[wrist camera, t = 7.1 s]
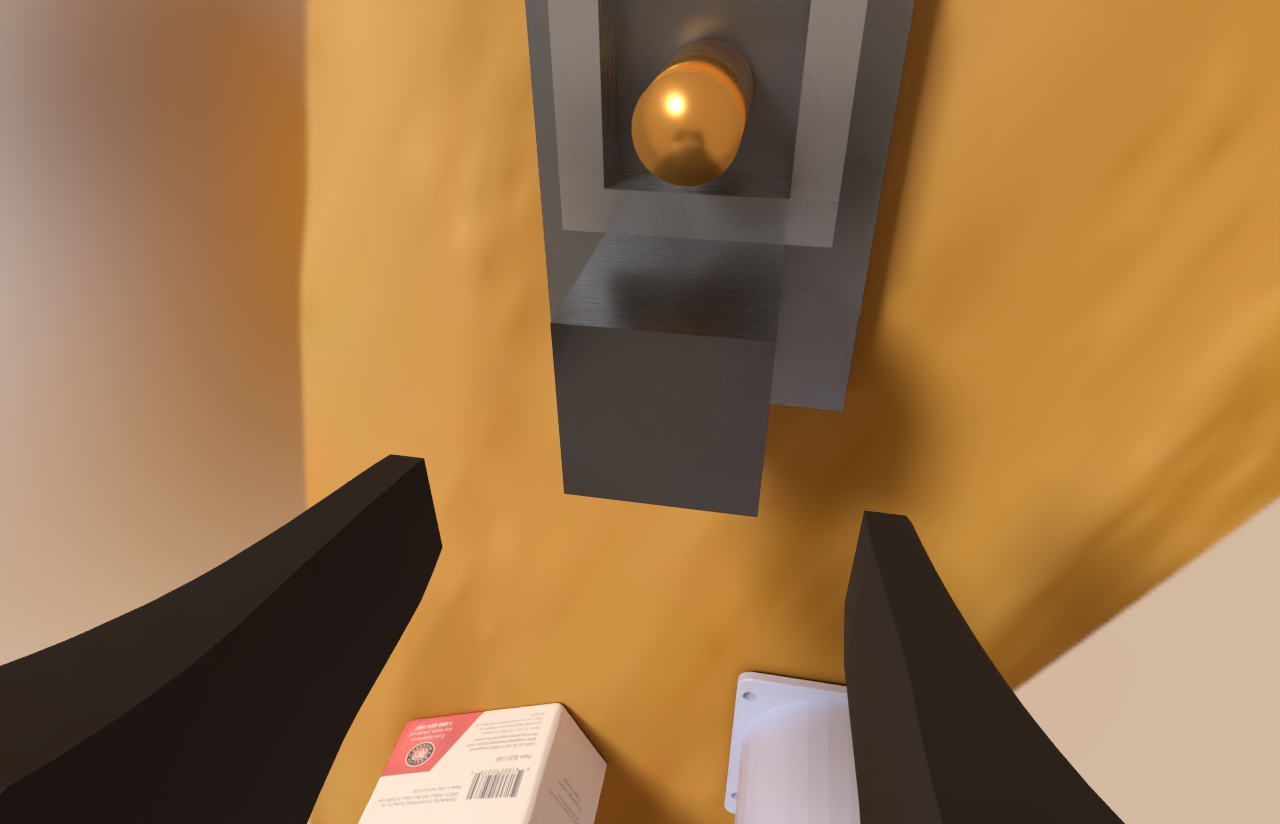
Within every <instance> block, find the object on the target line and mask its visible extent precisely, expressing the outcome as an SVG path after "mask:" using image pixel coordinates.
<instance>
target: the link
mask: <svg viewBox="0 0 1280 824" xmlns="http://www.w3.org/2000/svg"><path fill="white" fill-rule="evenodd" d="M867 2H868V0H811V1H810V10H809V20H808V29H807V38H806V48H805V57H804V66H803V76H802V85H801V94H800V104H799V113H798V122H797V132H796V141H795V150H794V160H793V169H792V176H780V175H761V174H741V173H722V174H720V175H719V176H718V177H716V178H715V179H713V180H711V181H709V182H707V183H704V184H701V185H696V186H677V185H673V184H670V183H667V182H665V181H663V180H661V179H659V178H658V177H656V176H655V175H654V174H652V173H651V172H650V171H649V170H648V169H644V168H625V167H619V123H618V75H617V28H616V0H548V14H549V29H550V45H551V60H552V75H553V90H554V105H555V120H556V136H557V151H558V166H559V181H560V196H561V211H562V226H563V230H571V231H586V232H601V233H605V234H604V236H603V238H602V239H601V241H600V243H599V244H598V246H597V248H596V249H595V251H594V252H593V254H592V256H591V257H590V259H589V261H588V262H587V264H586V266H585V267H584V269H583V270H582V272H581V274H580V275H579V277H578V279H577V280H576V282H575V283H574V285H573V287H572V288H571V290H570V292H569V293H568V295H567V297H566V298H565V300H564V301H563V303H562V305H561V306H560V308H559V310H558V311H557V313H556V315H555V316H554V318H553V319H552V321H551V323H550V324H551V336H552V348H553V360H554V373H555V385H556V397H557V410H558V422H559V434H560V446H561V459H562V471H563V483H564V494H572V495H580V496H588V497H597V498H605V499H613V500H621V501H629V502H637V503H646V504H654V505H662V506H670V507H678V508H687V509H695V510H703V511H711V512H719V513H727V514H736V515H744V516H752V517H757V515H758V506H759V497H760V488H761V479H762V470H763V460H764V451H765V442H766V433H767V424H768V415H769V406H770V396H771V387H772V378H773V369H774V360H775V351H776V341H777V330H778V318H779V307H780V295H781V284H782V272H783V261H784V249H785V245H799V246H814V247H829V248H832V244H833V237H834V230H835V223H836V216H837V209H838V202H839V195H840V188H841V182H842V175H843V168H844V161H845V154H846V147H847V140H848V133H849V126H850V119H851V113H852V106H853V99H854V92H855V85H856V78H857V71H858V64H859V57H860V50H861V44H862V37H863V30H864V23H865V16H866V9H867Z"/></svg>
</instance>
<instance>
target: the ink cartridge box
mask: <svg viewBox="0 0 1280 824" xmlns="http://www.w3.org/2000/svg"><path fill="white" fill-rule="evenodd" d="M606 766H607V764H606V762H605V761H604V760H603V758H602V757H601V756H600V754H599V753H598V752H597V750H596V749H595V748H594V746H593V745H592V744H591V742H590V741H589V740H588V739H587V737H586V736H585V735H584V733H583V732H582V731H581V729H580V728H579V727H578V725H577V724H576V723H575V721H574V720H573V719H572V717H571V716H570V715H569V713H568V712H567V710H566V709H565V708H564V706H563V705H561V704H560V703H551V704H543V705H535V706H526V707H517V708H508V709H500V710H491V711H483V712H474V713H467V714H458V715H449V716H442V717H432V718H424V719H417V720H413V721H409V722H407V724H406V726H405V728H404V730H403V732H402V734H401V736H400V738H399V740H398V742H397V744H396V746H395V748H394V750H393V753H392V755H391V757H390V759H389V761H388V763H387V765H386V767H385V769H384V771H383V773H382V776H381V778H380V779H379V781H378V784H377V786H376V788H375V790H374V792H373V794H372V796H371V798H370V800H369V802H368V804H367V806H366V808H365V811H364V813H363V815H362V817H361V819H360V821H359V823H358V824H594V821H595V816H596V811H597V807H598V803H599V798H600V793H601V789H602V785H603V781H604V776H605V771H606Z"/></svg>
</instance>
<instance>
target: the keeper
mask: <svg viewBox="0 0 1280 824" xmlns="http://www.w3.org/2000/svg"><path fill="white" fill-rule="evenodd" d="M810 1H811V0H616V28H617V75H618V123H619V167H625V168H644V169H648V170H649V171H650V172H651V173H652V174H654V175H655V176H656V177H658V178H659V179H661V180H663V181H665V182H667V183H670V184H673V185H677V186H696V185H701V184H704V183H707V182H709V181H711V180H713V179H715V178H716V177H718V176H719V175H720V174H722V173H741V174H761V175H780V176H792V169H793V160H794V150H795V141H796V132H797V122H798V113H799V104H800V94H801V85H802V76H803V66H804V57H805V48H806V38H807V29H808V20H809V10H810ZM914 3H915V0H868V2H867V9H866V16H865V23H864V30H863V37H862V44H861V50H860V57H859V64H858V71H857V78H856V85H855V92H854V99H853V106H852V113H851V119H850V126H849V133H848V140H847V147H846V154H845V161H844V168H843V175H842V182H841V188H840V195H839V202H838V209H837V216H836V223H835V230H834V237H833V244H832V248H829V247H814V246H799V245H785V249H784V261H783V272H782V284H781V295H780V307H779V318H778V330H777V341H776V351H775V360H774V369H773V378H772V387H771V396H770V404H774V405H784V406H794V407H804V408H814V409H824V410H835V411H843V407H844V401H845V395H846V390H847V384H848V378H849V373H850V367H851V361H852V356H853V350H854V344H855V339H856V333H857V327H858V322H859V316H860V310H861V305H862V299H863V293H864V288H865V282H866V276H867V270H868V265H869V259H870V253H871V248H872V242H873V236H874V231H875V225H876V219H877V214H878V208H879V202H880V197H881V191H882V185H883V180H884V174H885V168H886V162H887V157H888V151H889V145H890V140H891V134H892V128H893V123H894V117H895V111H896V106H897V100H898V94H899V89H900V83H901V77H902V72H903V66H904V60H905V55H906V49H907V43H908V37H909V32H910V26H911V20H912V15H913V9H914ZM525 5H526V18H527V30H528V42H529V55H530V67H531V79H532V92H533V104H534V116H535V129H536V141H537V154H538V166H539V178H540V191H541V203H542V215H543V228H544V240H545V252H546V265H547V277H548V289H549V302H550V314H551V321H552V319H553V318H554V316H555V315H556V313H557V311H558V310H559V308H560V306H561V305H562V303H563V301H564V300H565V298H566V297H567V295H568V293H569V292H570V290H571V288H572V287H573V285H574V283H575V282H576V280H577V279H578V277H579V275H580V274H581V272H582V270H583V269H584V267H585V266H586V264H587V262H588V261H589V259H590V257H591V256H592V254H593V252H594V251H595V249H596V248H597V246H598V244H599V243H600V241H601V239H602V238H603V236H604V234H605V233H601V232H586V231H571V230H563V226H562V211H561V196H560V181H559V166H558V151H557V136H556V120H555V105H554V90H553V75H552V60H551V45H550V29H549V14H548V0H525Z"/></svg>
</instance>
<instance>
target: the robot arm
mask: <svg viewBox="0 0 1280 824" xmlns="http://www.w3.org/2000/svg"><path fill="white" fill-rule="evenodd" d="M441 550H442V542H441V538H440V533H439V528H438V523H437V519H436V514H435V509H434V504H433V499H432V495H431V490H430V485H429V480H428V476H427V471H426V466H425V461H424V458H416V457H408V456H400V455H391V454H390V455H389V456H387V457H385V458H384V459H382V460H381V461H379V462H377V463H376V464H374V465H373V466H371V467H370V468H368V469H367V470H365V471H364V472H362V473H361V474H359V475H358V476H356V477H355V478H353V479H352V480H351V481H349V482H348V483H346V484H345V485H343V486H342V487H340V488H339V489H337V490H336V491H334V492H333V493H332V494H330V495H329V496H327V497H326V498H324V499H323V500H321V501H320V502H318V503H317V504H315V505H314V506H312V507H311V508H309V509H308V510H306V511H305V512H303V513H302V514H300V515H299V516H297V517H296V518H295V519H293V520H291V521H290V522H289V523H287V524H286V525H284V526H283V527H281V528H279V529H278V530H276V531H274V532H273V533H271V534H270V535H268V536H266V537H265V538H263V539H262V540H260V541H259V542H257V543H255V544H253V545H252V546H251V547H249V548H247V549H245V550H244V551H242V552H241V553H239V554H237V555H236V556H234V557H232V558H231V559H229V560H228V561H226V562H224V563H222V564H221V565H219V566H217V567H216V568H214V569H212V570H210V571H209V572H207V573H205V574H203V575H201V576H200V577H198V578H196V579H194V580H192V581H190V582H189V583H187V584H185V585H183V586H181V587H179V588H177V589H175V590H173V591H171V592H169V593H167V594H165V595H164V596H162V597H160V598H158V599H156V600H154V601H152V602H150V603H148V604H146V605H144V606H142V607H139V608H137V609H135V610H133V611H130V612H128V613H126V614H124V615H122V616H120V617H118V618H115V619H113V620H111V621H108V622H106V623H104V624H102V625H100V626H97V627H95V628H93V629H91V630H89V631H86V632H84V633H82V634H80V635H77V636H75V637H73V638H70V639H68V640H66V641H63V642H61V643H58V644H56V645H54V646H51V647H48V648H46V649H43V650H41V651H38V652H36V653H33V654H31V655H28V656H25V657H23V658H20V659H17V660H15V661H12V662H9V663H7V664H4V665H1V666H0V824H307V822H308V820H309V818H310V815H311V813H312V810H313V808H314V806H315V803H316V801H317V798H318V796H319V794H320V791H321V789H322V787H323V785H324V782H325V780H326V778H327V776H328V773H329V771H330V769H331V767H332V764H333V762H334V760H335V758H336V755H337V753H338V751H339V749H340V746H341V744H342V742H343V740H344V738H345V736H346V734H347V732H348V730H349V728H350V726H351V724H352V722H353V721H354V719H355V717H356V715H357V713H358V711H359V709H360V708H361V706H362V704H363V702H364V701H365V699H366V697H367V695H368V694H369V692H370V690H371V688H372V687H373V685H374V683H375V681H376V680H377V678H378V676H379V674H380V673H381V671H382V669H383V667H384V666H385V664H386V662H387V661H388V659H389V657H390V655H391V654H392V652H393V650H394V648H395V647H396V645H397V643H398V641H399V640H400V638H401V636H402V634H403V632H404V631H405V629H406V627H407V625H408V623H409V622H410V620H411V618H412V616H413V614H414V613H415V611H416V609H417V607H418V605H419V603H420V602H421V600H422V597H423V595H424V593H425V590H426V588H427V585H428V583H429V581H430V578H431V576H432V573H433V571H434V568H435V565H436V563H437V560H438V558H439V555H440V552H441ZM844 667H845V677H846V686H841V685H835V684H828V683H822V682H815V681H809V680H802V679H796V678H789V677H783V676H776V675H770V674H763V673H757V672H745V673H742V674H741V675H739V678H738V684H737V693H736V703H735V712H734V721H733V731H732V740H731V749H730V759H729V768H728V777H727V787H726V796H725V808H726V809H727V810H728V811H729V812H731V813H733V814H735V824H1125V823H1124V822H1123V821H1122V820H1121V819H1120V818H1119V817H1118V816H1117V815H1116V814H1115V813H1114V812H1113V811H1112V810H1111V809H1110V807H1109V806H1108V805H1107V804H1106V803H1105V802H1104V801H1103V800H1102V799H1101V798H1100V797H1099V796H1098V795H1097V794H1096V793H1095V792H1094V791H1093V789H1092V788H1091V787H1090V786H1089V785H1088V784H1087V783H1086V781H1085V780H1084V779H1083V778H1082V777H1081V776H1080V774H1079V773H1078V772H1077V771H1076V770H1075V769H1074V767H1073V766H1072V765H1071V764H1070V763H1069V762H1068V761H1067V759H1066V758H1065V757H1064V756H1063V755H1062V754H1061V752H1060V751H1059V750H1058V749H1057V748H1056V746H1055V745H1054V744H1053V743H1052V741H1051V740H1050V739H1049V738H1048V736H1047V735H1046V734H1045V733H1044V731H1043V730H1042V729H1041V728H1040V726H1039V725H1038V724H1037V723H1036V722H1035V720H1034V719H1033V718H1032V716H1031V715H1030V714H1029V713H1028V711H1027V710H1026V709H1025V707H1024V706H1023V705H1022V703H1021V702H1020V701H1019V699H1018V698H1017V696H1016V695H1015V694H1014V692H1013V691H1012V690H1011V688H1010V687H1009V686H1008V684H1007V683H1006V681H1005V680H1004V678H1003V677H1002V676H1001V674H1000V673H999V671H998V670H997V668H996V667H995V665H994V664H993V663H992V661H991V660H990V658H989V657H988V655H987V654H986V652H985V651H984V649H983V648H982V646H981V645H980V643H979V642H978V640H977V639H976V637H975V636H974V634H973V632H972V631H971V629H970V627H969V626H968V624H967V623H966V621H965V619H964V618H963V616H962V614H961V613H960V611H959V610H958V608H957V606H956V605H955V603H954V602H953V600H952V598H951V596H950V595H949V593H948V591H947V589H946V588H945V586H944V584H943V582H942V581H941V579H940V577H939V575H938V573H937V572H936V570H935V568H934V566H933V564H932V562H931V560H930V559H929V557H928V555H927V553H926V551H925V549H924V547H923V545H922V543H921V541H920V539H919V537H918V535H917V533H916V531H915V529H914V526H913V524H912V522H911V521H910V520H909V519H908V518H907V516H904V515H896V514H887V513H879V512H871V511H864V515H863V520H862V525H861V529H860V534H859V539H858V543H857V548H856V553H855V557H854V562H853V567H852V571H851V576H850V581H849V585H848V590H847V595H846V599H845V621H844Z"/></svg>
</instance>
